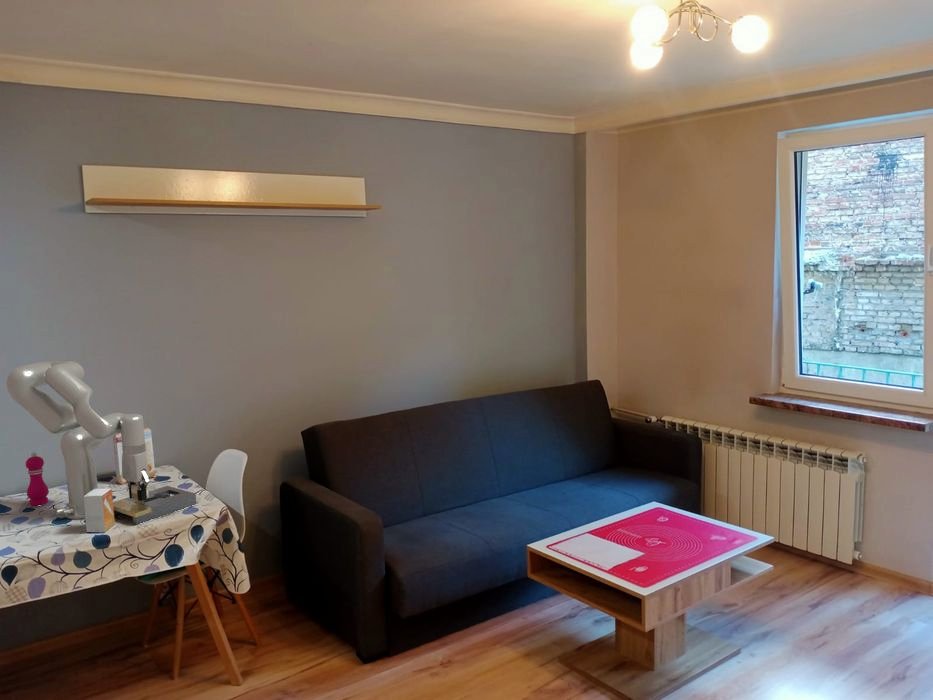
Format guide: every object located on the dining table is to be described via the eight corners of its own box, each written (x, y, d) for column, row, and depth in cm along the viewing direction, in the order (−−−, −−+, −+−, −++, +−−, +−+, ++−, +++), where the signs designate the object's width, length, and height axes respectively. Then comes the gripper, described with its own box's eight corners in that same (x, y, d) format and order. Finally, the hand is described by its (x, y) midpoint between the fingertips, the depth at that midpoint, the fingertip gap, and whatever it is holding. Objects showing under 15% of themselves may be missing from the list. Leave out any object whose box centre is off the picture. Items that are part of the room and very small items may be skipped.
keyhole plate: (136, 525, 254) (135, 513, 254) (108, 515, 265) (106, 503, 264) (196, 505, 274) (195, 493, 273) (168, 496, 284) (167, 485, 283)
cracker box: (151, 474, 314) (147, 426, 311) (155, 477, 309) (151, 429, 306) (116, 481, 305) (111, 432, 302) (120, 485, 300) (116, 435, 298)
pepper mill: (29, 508, 274) (24, 456, 272) (26, 503, 280) (20, 452, 277) (51, 504, 279) (46, 452, 276) (47, 499, 284) (42, 449, 282)
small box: (105, 532, 249) (102, 495, 247) (86, 533, 248) (82, 496, 246) (115, 523, 257) (112, 487, 255) (96, 524, 256) (93, 488, 254)
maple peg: (138, 517, 262) (136, 487, 261) (131, 515, 265) (128, 485, 264) (151, 513, 266) (149, 484, 265) (143, 511, 269) (141, 481, 268)
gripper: (111, 448, 263) (115, 497, 266) (137, 454, 254) (141, 505, 256) (130, 443, 270) (134, 491, 272) (157, 449, 260) (161, 499, 262)
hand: (138, 497), depth 264 cm, fingers open, 4 cm apart
